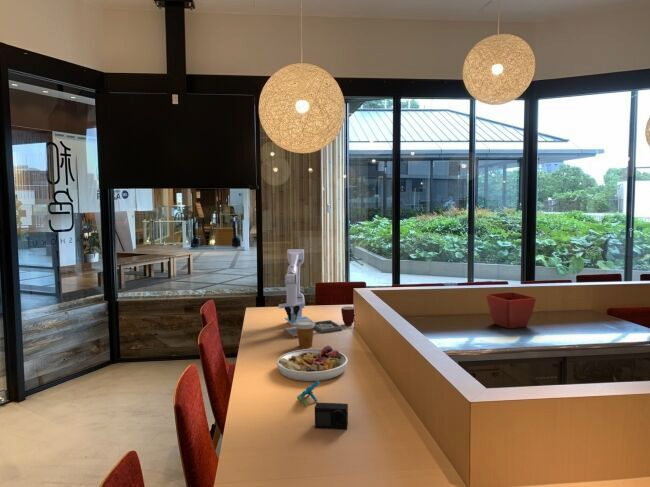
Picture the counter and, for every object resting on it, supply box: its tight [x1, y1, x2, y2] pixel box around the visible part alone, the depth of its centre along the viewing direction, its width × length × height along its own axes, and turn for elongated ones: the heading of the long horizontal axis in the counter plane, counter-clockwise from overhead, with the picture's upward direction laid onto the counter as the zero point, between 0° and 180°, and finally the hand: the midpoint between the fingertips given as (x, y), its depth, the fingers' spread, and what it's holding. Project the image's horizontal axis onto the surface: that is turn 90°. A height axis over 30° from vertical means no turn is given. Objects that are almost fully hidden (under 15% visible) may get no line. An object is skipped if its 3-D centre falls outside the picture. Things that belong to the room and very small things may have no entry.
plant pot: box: [486, 291, 537, 329], centre depth 270 cm, size 19×19×17 cm
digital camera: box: [314, 402, 349, 431], centre depth 153 cm, size 10×5×7 cm, turn 82°
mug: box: [340, 306, 355, 327], centre depth 276 cm, size 10×8×10 cm
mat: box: [284, 326, 318, 338], centre depth 265 cm, size 16×13×1 cm
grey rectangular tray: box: [314, 319, 343, 334], centre depth 271 cm, size 16×12×2 cm
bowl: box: [276, 345, 348, 382], centre depth 205 cm, size 30×30×8 cm
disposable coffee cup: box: [295, 320, 315, 349], centre depth 238 cm, size 10×10×12 cm
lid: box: [284, 313, 316, 327], centre depth 264 cm, size 16×12×5 cm
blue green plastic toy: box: [296, 381, 320, 407], centre depth 173 cm, size 11×6×10 cm
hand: (292, 319), depth 263 cm, fingers closed on lid, 2 cm apart
